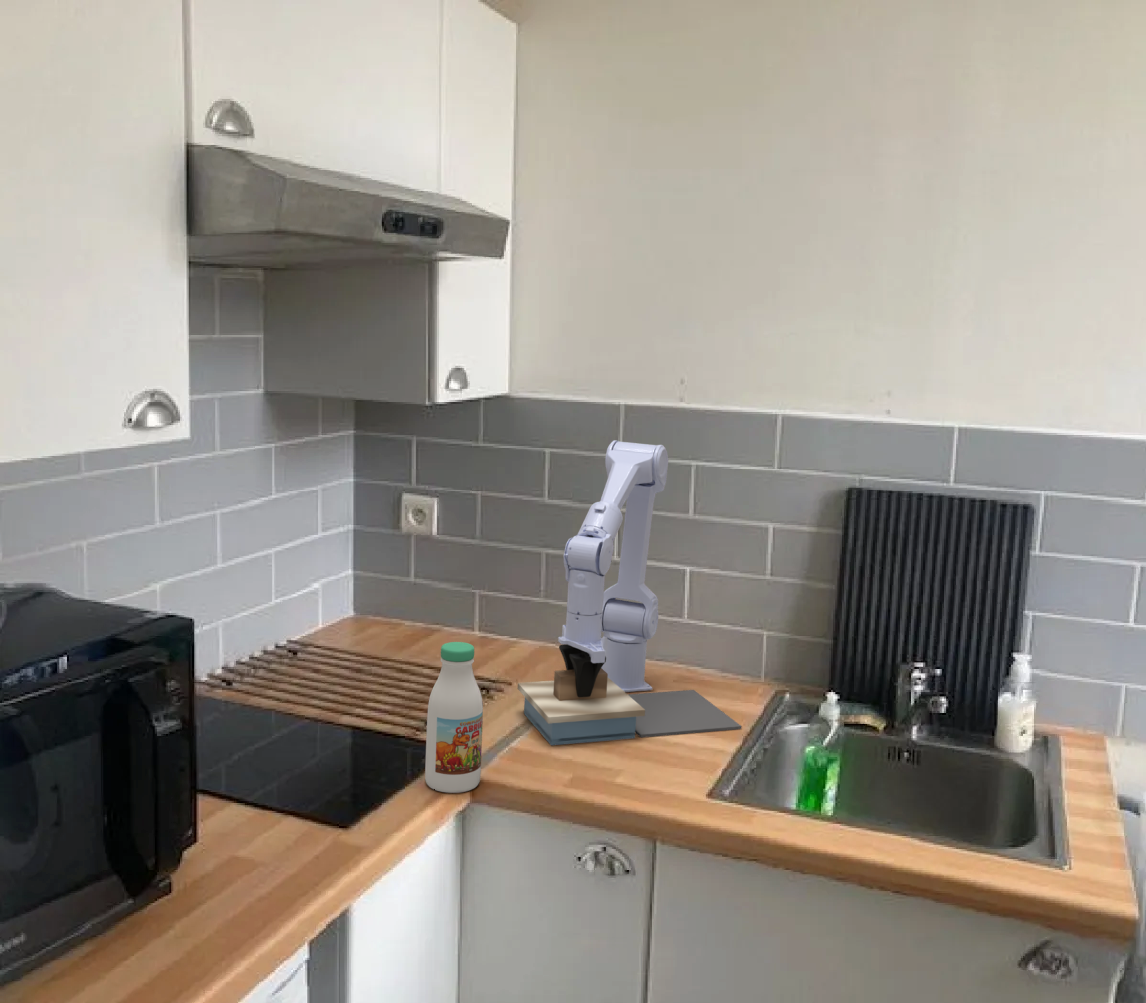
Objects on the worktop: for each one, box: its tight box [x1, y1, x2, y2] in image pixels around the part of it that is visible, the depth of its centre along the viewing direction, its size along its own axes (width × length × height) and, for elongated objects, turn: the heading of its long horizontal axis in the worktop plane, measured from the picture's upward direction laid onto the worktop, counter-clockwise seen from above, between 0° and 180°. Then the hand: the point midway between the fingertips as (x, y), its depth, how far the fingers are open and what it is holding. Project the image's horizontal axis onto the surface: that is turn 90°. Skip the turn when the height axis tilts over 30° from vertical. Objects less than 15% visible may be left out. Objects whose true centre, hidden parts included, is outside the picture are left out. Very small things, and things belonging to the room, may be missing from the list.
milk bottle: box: [424, 641, 484, 794], centre depth 157 cm, size 8×8×20 cm
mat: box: [627, 689, 742, 739], centre depth 191 cm, size 18×18×1 cm
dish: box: [523, 697, 636, 746], centre depth 183 cm, size 14×14×4 cm
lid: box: [517, 668, 645, 724], centre depth 182 cm, size 16×16×5 cm
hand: (580, 692), depth 182 cm, fingers closed on lid, 3 cm apart
